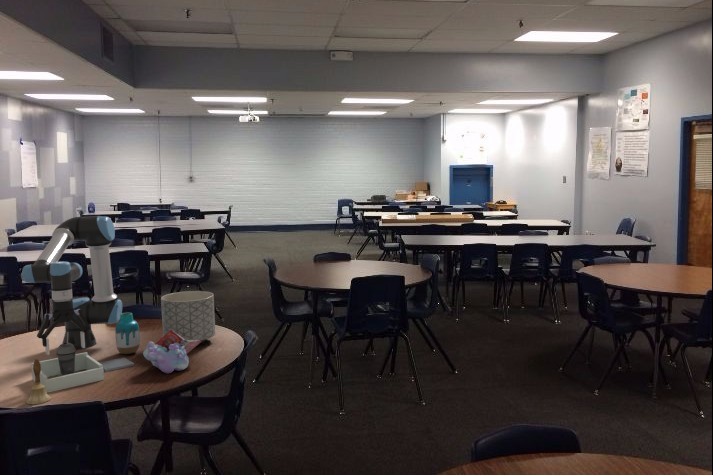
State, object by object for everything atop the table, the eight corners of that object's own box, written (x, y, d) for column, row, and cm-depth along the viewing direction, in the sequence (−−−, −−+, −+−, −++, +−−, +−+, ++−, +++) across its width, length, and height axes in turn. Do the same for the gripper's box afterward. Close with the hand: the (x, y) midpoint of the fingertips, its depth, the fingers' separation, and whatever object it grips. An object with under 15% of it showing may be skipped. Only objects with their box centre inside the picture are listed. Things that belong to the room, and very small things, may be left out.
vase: (132, 357, 277) (130, 316, 274) (111, 356, 279) (109, 316, 277) (145, 350, 287) (142, 311, 285) (125, 349, 289) (122, 310, 287)
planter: (187, 334, 315) (185, 289, 313) (225, 339, 304) (223, 293, 302) (152, 346, 293) (149, 298, 290) (192, 352, 282) (190, 303, 279)
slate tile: (96, 365, 266) (96, 363, 266) (124, 359, 274) (124, 357, 273) (106, 371, 257) (106, 369, 257) (134, 365, 265) (133, 363, 264)
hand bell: (44, 394, 231) (41, 354, 229) (55, 399, 226) (52, 358, 224) (22, 401, 224) (18, 360, 222) (33, 406, 219) (30, 364, 218)
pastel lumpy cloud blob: (135, 367, 247) (157, 330, 247) (141, 350, 268) (161, 316, 268) (180, 387, 253) (201, 351, 253) (182, 369, 274) (202, 335, 274)
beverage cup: (62, 377, 251) (59, 330, 249) (80, 376, 252) (77, 329, 249) (55, 383, 244) (51, 335, 242) (73, 382, 244) (70, 334, 242)
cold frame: (32, 379, 248) (31, 363, 248) (87, 367, 263) (86, 352, 262) (45, 393, 233) (44, 375, 232) (104, 379, 247) (103, 363, 246)
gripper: (30, 305, 233) (34, 358, 235) (97, 296, 249) (100, 346, 251) (26, 303, 239) (29, 354, 241) (91, 294, 255) (94, 343, 257)
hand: (65, 350), depth 246 cm, fingers open, 13 cm apart
